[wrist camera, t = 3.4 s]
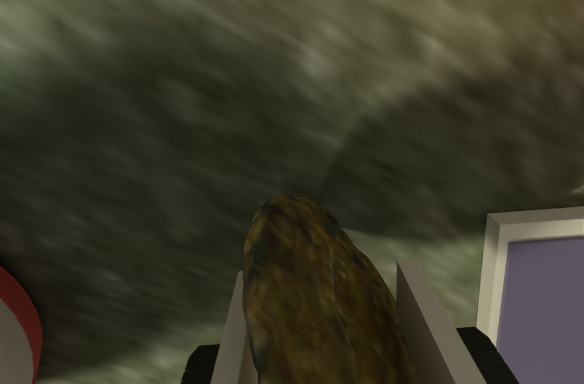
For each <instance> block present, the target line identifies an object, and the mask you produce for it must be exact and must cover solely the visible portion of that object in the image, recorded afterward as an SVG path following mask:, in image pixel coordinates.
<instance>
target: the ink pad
mask: <svg viewBox="0 0 584 384" xmlns="http://www.w3.org/2000/svg"><path fill="white" fill-rule="evenodd" d="M476 328H478V329H479V330H480V331H481V332H483V333H484V334H485V335H487V336H488V337H489V338H490V340H491V341H492V343H493V344H494V346H495V347H496V349H497V352H499V353H500V355H501V356H502V358H503V359H504V362H505V363H506V364H507V365H508V367H509V368H510V370H511V371H512V373H513V374H514V376H515V377H516V379H517V380H518V382H519V383H520V384H584V206H581V207H568V208H555V209H542V210H529V211H515V212H502V213H489V214H487V222H486V232H485V242H484V253H483V263H482V273H481V284H480V294H479V304H478V315H477V325H476Z"/></svg>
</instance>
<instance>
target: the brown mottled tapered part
mask: <svg viewBox="0 0 584 384" xmlns="http://www.w3.org/2000/svg"><path fill="white" fill-rule="evenodd" d="M396 306H397V302H396V301H395V299H394V297H393V295H392V293H391V292H390V290H389V288H388V287H387V285H386V284H385V282H384V280H383V279H382V277H381V276H380V274H379V272H378V271H377V269H376V268H375V267H374V265H373V264H372V262H371V261H370V260H369V258H368V257H367V256H366V255H365V254H363V253H362V252H361V251H359V250H358V249H357V248H356V247H355V246H354V245H353V242H352V240H351V239H350V238H349V237H348V235H347V234H346V233H345V232H344V231H343V230H342V229H341V228H340V227H339V225H338V223H337V221H336V219H335V218H334V217H333V215H332V214H331V213H330V212H329V211H328V210H327V209H326V208H325V207H324V206H322V205H321V204H320V203H319V202H314V201H310V200H309V199H308V198H307V197H303V196H302V197H292V196H287V195H279V196H277V197H275V198H272V199H271V200H270V201H268V202H267V203H266V204H264V205H263V206H262V207H261V208H260V209H259V210H258V212H257V213H256V214H255V216H254V218H253V220H252V226H251V229H250V231H249V233H248V236H247V239H246V242H245V246H244V261H243V298H242V308H243V312H244V317H245V321H246V328H247V334H248V339H249V345H250V350H251V355H252V360H253V364H254V367H255V369H256V371H257V373H258V384H422V382H421V380H420V377H419V374H418V372H417V369H416V366H415V364H414V361H413V358H412V356H411V353H410V350H409V348H408V345H407V342H406V340H405V337H404V334H403V332H402V329H401V326H400V324H399V321H398V318H397V316H396Z"/></svg>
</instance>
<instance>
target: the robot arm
mask: <svg viewBox="0 0 584 384" xmlns="http://www.w3.org/2000/svg"><path fill="white" fill-rule="evenodd" d="M242 298H243V271H239V272H238V276H237V280H236V284H235V288H234V292H233V296H232V300H231V304H230V308H229V312H228V316H227V320H226V324H225V328H224V332H223V336H222V340H221V344H217V345H201V346H198V347H197V349H196V350H195V351H194V352H193V353H192V355H191V356H190V357H189V359H188V362H187V365H186V368H185V373H184V374H183V377H182V380H181V384H258V373H257V371H256V369H255V367H254V364H253V360H252V355H251V350H250V345H249V339H248V334H247V328H246V321H245V317H244V312H243V308H242ZM396 316H397V318H398V321H399V324H400V326H401V329H402V332H403V334H404V337H405V340H406V342H407V345H408V348H409V350H410V353H411V356H412V358H413V361H414V364H415V366H416V369H417V372H418V374H419V377H420V380H421V382H422V384H520V383H519V382H518V380H517V379H516V377H515V376H514V374H513V373H512V371H511V370H510V368H509V367H508V365H507V364H506V363H505V362H504V359H503V358H502V356H501V355H500V353H499V352H497V349H496V347H495V346H494V344H493V343H492V341H491V340H490V338H489V337H488V336H487V335H485V334H484V333H483V332H481V331H480V330H479V329H478V328H476V327H464V328H455V327H454V325H453V323H452V322H451V320H450V318H449V316H448V315H447V313H446V311H445V309H444V308H443V306H442V304H441V302H440V300H439V299H438V297H437V295H436V293H435V292H434V290H433V288H432V286H431V285H430V283H429V281H428V279H427V278H426V276H425V274H424V272H423V271H422V269H421V267H420V265H419V263H418V262H417V260H416V259H404V260H397V306H396Z"/></svg>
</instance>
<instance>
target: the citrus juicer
mask: <svg viewBox="0 0 584 384" xmlns="http://www.w3.org/2000/svg"><path fill="white" fill-rule="evenodd" d="M42 345H43V333H42V325H41V322H40V319H39V316H38V313H37V310H36V308H35V306H34V305H33V303H32V301H31V299H30V297H29V296H28V294H27V293H26V292H25V290H24V289H23V288H22V287H21V285H20V284H19V283H18V282H17V281H16V279H15V278H14V277H13V276H11V275H10V274H9V273H8V272H7V271H6V270H5V269H4V268H2V267H1V266H0V384H34V382H35V378H36V374H37V370H38V366H39V361H40V356H41V351H42Z"/></svg>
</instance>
